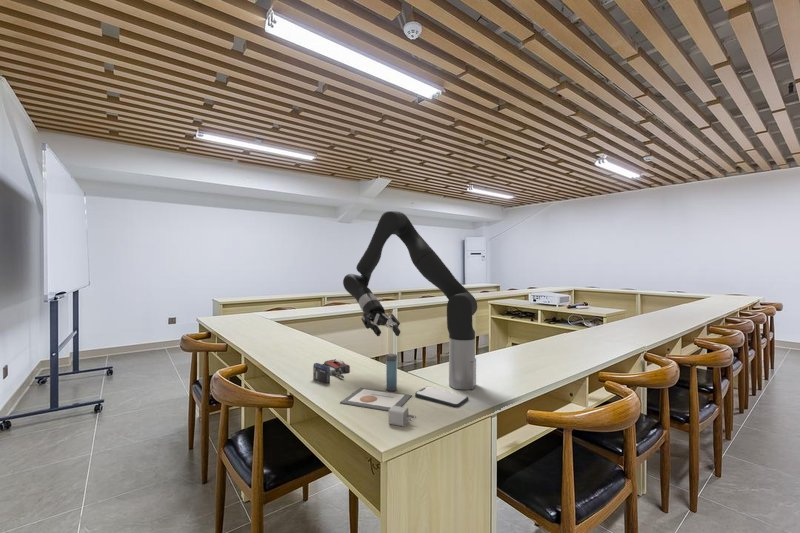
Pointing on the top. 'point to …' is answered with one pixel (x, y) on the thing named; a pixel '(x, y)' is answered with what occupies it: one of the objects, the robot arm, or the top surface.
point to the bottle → (391, 372)
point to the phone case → (441, 396)
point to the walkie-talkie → (337, 367)
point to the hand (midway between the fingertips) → (389, 334)
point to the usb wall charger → (399, 416)
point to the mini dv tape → (321, 373)
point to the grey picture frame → (376, 399)
